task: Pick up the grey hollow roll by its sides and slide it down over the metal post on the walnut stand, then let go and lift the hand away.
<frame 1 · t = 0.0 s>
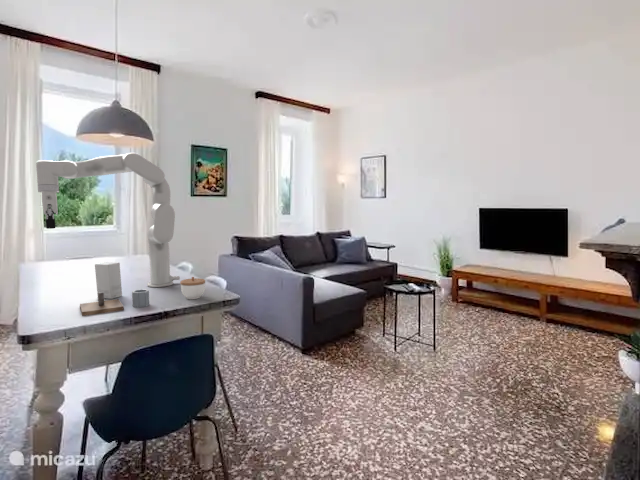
hand: (50, 227, 167), 31 cm above the table, tool pointing down, fingers open, 9 cm apart
roll stand: (101, 308, 151), on the table
skincare box: (109, 297, 170), on the table
lidded jar: (193, 297, 170), on the table
roll: (141, 305, 157), on the table
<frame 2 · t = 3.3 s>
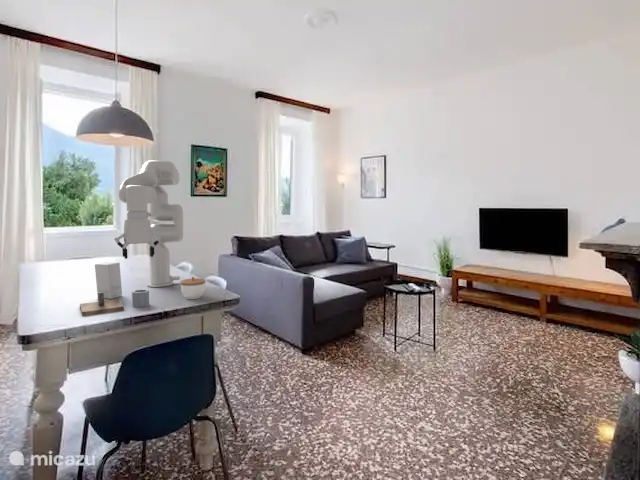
hand: (138, 257, 155), 20 cm above the table, tool pointing down, fingers open, 9 cm apart
nothing on the table moved.
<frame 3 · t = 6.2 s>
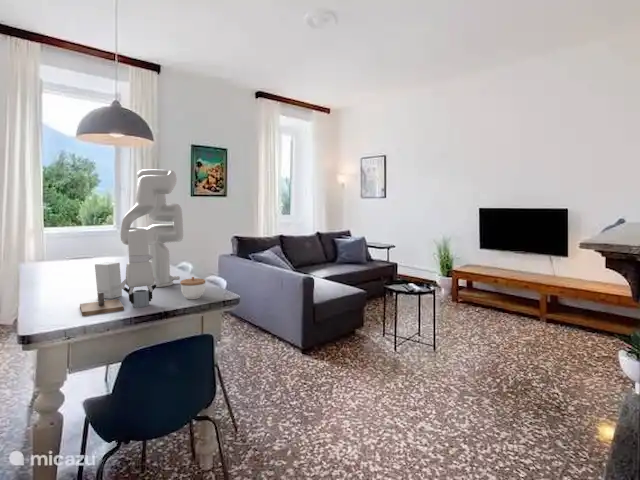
hand: (140, 301, 157), 2 cm above the table, tool pointing down, fingers closed on roll, 5 cm apart
roll: (141, 305, 157), on the table, touching gripper
everything else where it was.
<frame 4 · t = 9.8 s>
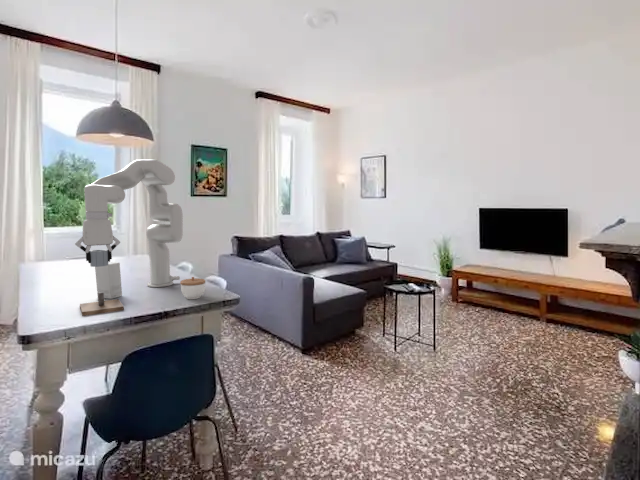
hand: (99, 261, 149), 19 cm above the table, tool pointing down, fingers closed on roll, 5 cm apart
roll: (99, 265, 149), point 18 cm above the table, touching gripper
everything else where it was.
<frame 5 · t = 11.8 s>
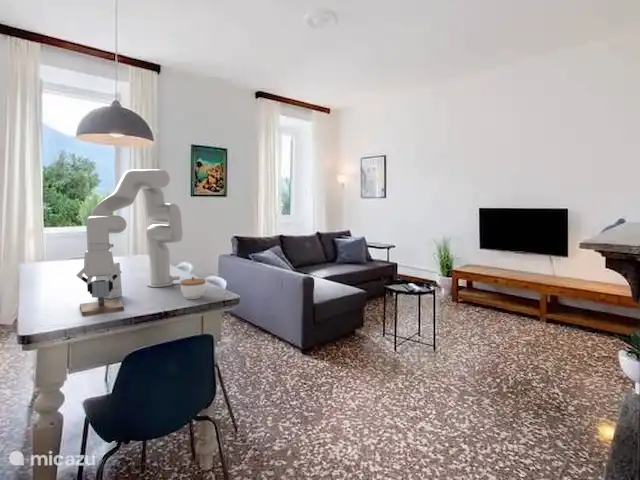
hand: (100, 291, 150), 7 cm above the table, tool pointing down, fingers closed on roll, 5 cm apart
roll: (100, 295, 150), point 5 cm above the table, touching gripper
everything else where it was.
when the fingers open (4 cm above the table, at t = 13.4 s): roll stays where it is, resting on roll stand.
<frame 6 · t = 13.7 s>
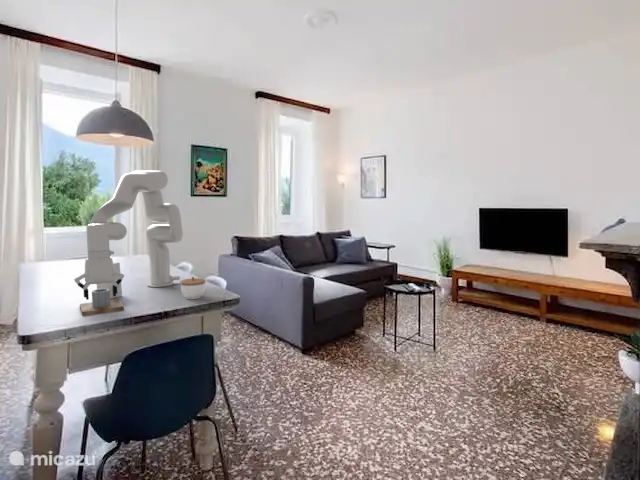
hand: (101, 297, 151), 5 cm above the table, tool pointing down, fingers open, 9 cm apart
roll: (101, 305, 151), point 1 cm above the table, touching roll stand
everything else where it was.
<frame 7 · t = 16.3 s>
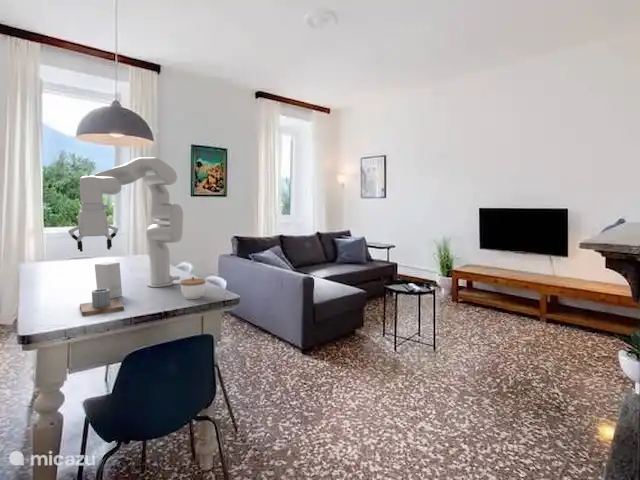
hand: (95, 250, 152), 23 cm above the table, tool pointing down, fingers open, 9 cm apart
nothing on the table moved.
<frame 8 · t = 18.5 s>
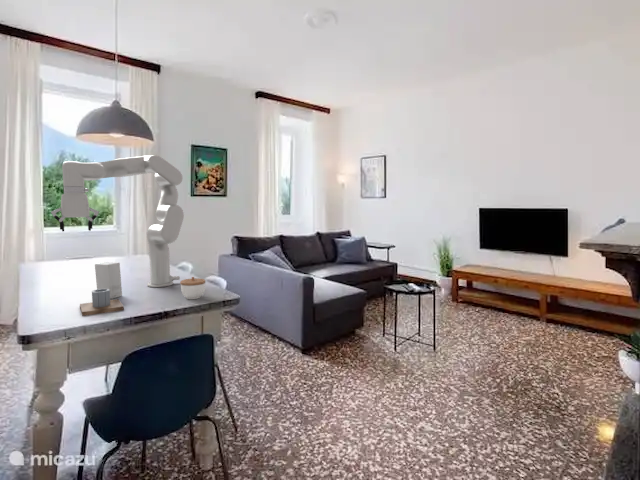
hand: (76, 230, 163), 30 cm above the table, tool pointing down, fingers open, 9 cm apart
nothing on the table moved.
at the end: roll 0.0 cm off-centre on the roll stand, point 1.5 cm above the roll stand's base; roll tilted 0°; the gripper is holding nothing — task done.
